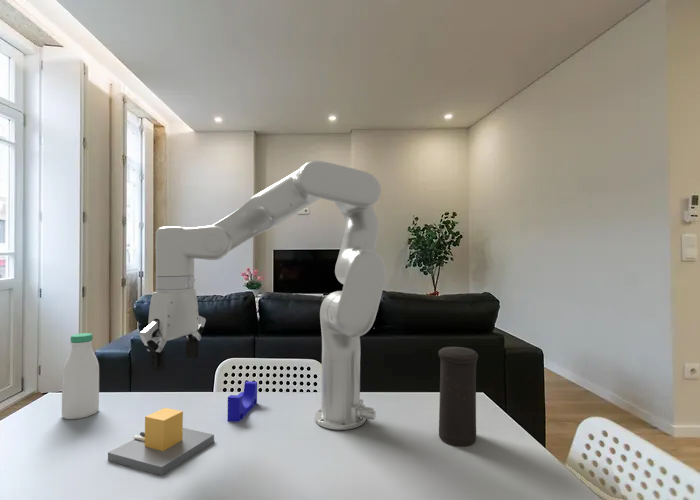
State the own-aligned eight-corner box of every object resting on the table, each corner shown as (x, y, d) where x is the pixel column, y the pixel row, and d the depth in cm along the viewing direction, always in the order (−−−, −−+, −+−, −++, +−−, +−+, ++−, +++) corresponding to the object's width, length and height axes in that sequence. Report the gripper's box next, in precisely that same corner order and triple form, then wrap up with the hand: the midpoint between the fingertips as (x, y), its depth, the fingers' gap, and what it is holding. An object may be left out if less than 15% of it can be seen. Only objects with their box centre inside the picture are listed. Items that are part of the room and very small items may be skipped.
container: (480, 433, 90) (480, 346, 90) (474, 451, 82) (475, 355, 82) (442, 426, 93) (442, 342, 94) (433, 442, 85) (434, 350, 86)
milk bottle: (104, 412, 100) (105, 333, 100) (70, 422, 93) (71, 339, 94) (89, 405, 104) (91, 330, 104) (55, 415, 98) (57, 335, 98)
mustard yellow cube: (182, 439, 82) (182, 411, 82) (163, 450, 78) (163, 420, 78) (164, 435, 84) (164, 407, 84) (144, 446, 79) (145, 416, 79)
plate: (214, 441, 85) (214, 413, 85) (161, 475, 72) (162, 442, 72) (163, 430, 90) (163, 404, 90) (106, 459, 77) (106, 429, 77)
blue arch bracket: (241, 402, 107) (241, 380, 107) (256, 403, 107) (257, 381, 107) (221, 421, 95) (221, 396, 95) (239, 422, 95) (239, 397, 95)
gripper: (190, 280, 93) (191, 352, 93) (126, 287, 77) (127, 374, 77) (216, 281, 91) (217, 355, 90) (156, 288, 74) (156, 378, 74)
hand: (175, 364), depth 84 cm, fingers open, 9 cm apart
